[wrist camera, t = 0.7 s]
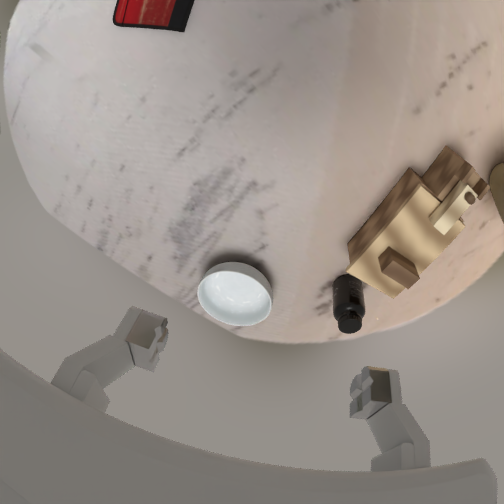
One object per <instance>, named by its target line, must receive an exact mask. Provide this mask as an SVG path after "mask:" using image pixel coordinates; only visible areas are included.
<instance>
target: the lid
mask: <svg viewBox="0 0 504 504" xmlns="http://www.w3.org/2000/svg"><path fill="white" fill-rule="evenodd" d="M440 204H441V202H440V201H439V200H438V199H437V198H435V197H434V196H433V195H432V194H431V193H430V192H429V191H427V190H426V189H425V188H424V187H423V186H421V185H420V184H418V186H417V187H416V188H415V189H414V191H413V192H412V193H411V194H410V196H409V197H408V198H407V199H406V200H405V202H404V203H403V204H402V205H401V206H400V208H399V209H398V210H397V211H396V212H395V214H394V215H393V216H392V217H391V218H390V220H389V221H388V222H387V223H386V224H385V225H384V227H383V228H382V229H381V230H380V231H379V232H378V233H377V235H376V236H375V237H374V238H373V239H372V240H371V241H370V243H369V244H368V245H367V246H366V247H365V248H364V249H363V250H362V251H361V253H360V254H359V255H358V256H357V257H356V258H355V259H354V260H353V261H352V262H351V263H350V265H349V266H348V267H347V268H346V272H347V273H349V274H351V275H353V276H355V277H356V278H358V279H360V280H362V281H363V282H365V283H367V284H369V285H370V286H372V287H374V288H376V289H377V290H379V291H381V292H383V293H384V294H386V295H388V296H390V297H391V298H393V299H394V298H395V297H396V296H397V295H398V294H399V293H400V292H401V291H403V290H404V289H405V288H407V289H409V288H410V287H411V286H412V285H413V284H414V283H416V282H417V281H418V280H419V279H420V277H419V275H420V274H421V273H422V272H423V271H424V270H425V269H426V268H427V267H428V266H429V265H430V264H431V263H432V262H433V261H434V260H435V259H436V258H437V257H438V256H439V255H440V254H441V252H442V251H443V250H444V249H445V248H446V247H447V246H448V245H449V244H450V243H451V242H452V241H453V240H454V239H455V238H456V236H457V235H458V234H459V233H460V232H461V231H462V230H463V229H464V228H465V225H464V224H463V223H462V222H461V221H460V220H459V219H458V220H457V221H456V223H455V224H454V225H453V226H452V227H451V228H450V229H449V230H448V232H447V233H446V234H445V235H443V234H442V233H441V232H440V231H438V230H437V229H436V228H435V227H434V226H433V225H432V223H431V222H430V220H429V217H430V216H431V215H432V214H433V213H434V212H435V210H436V209H437V208H438V207H439V206H440Z"/></svg>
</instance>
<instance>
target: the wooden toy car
mask: <svg viewBox="0 0 504 504" xmlns="http://www.w3.org/2000/svg"><path fill="white" fill-rule="evenodd" d="M477 196H478V195H477V194H476V193H475V192H474V191H473V190H472V189H471V188H470V187H469V185H468V184H467V183H465V184H464V183H463V182H462V181H461V180H460V181H459V182H458V184H457V185H456V186H455V187H454V189H453V190H452V191H451V192H450V194H449V195H448V196H447V197H446V198H445V200H444V201H443V202H442V203H441V204H440V206H439V207H438V208H437V209H436V210H435V212H434V213H433V214H432V215H431V216H430V217H429V220H430V222H431V223H432V225H433V226H434V227H435V228H436V229H437V230H438V231H440V232H441V233H442V234H443V235H445V234H446V233H447V232H448V230H449V229H450V228H451V227H452V226H453V225H454V224H455V223H456V221H457V220H458V219H459V218H460V217H461V216H462V214H463V213H464V212H465V211H466V210H467V208H468V207H469V206H470V205H471V204H473V203H474V202H475V199H476V197H477Z"/></svg>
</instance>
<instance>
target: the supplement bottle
mask: <svg viewBox="0 0 504 504" xmlns="http://www.w3.org/2000/svg"><path fill="white" fill-rule="evenodd" d="M333 315H334V317H335V319H336V320H337V321H338V328H339V330H340V331H341V332H343V333H348V334H349V333H350V334H351V333H355V332H357V331H359V330H360V329H361V327H362V318H363V317H364V315H365V303H364V295H363V287H362V282H361V281H360V279H358V278H356V277H355V276H353V275H344V276H341V277H339V278H338V279H337V280H336V281H335V282H334V284H333Z"/></svg>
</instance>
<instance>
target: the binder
mask: <svg viewBox="0 0 504 504" xmlns="http://www.w3.org/2000/svg"><path fill="white" fill-rule="evenodd" d="M193 3H194V0H117V3H116V7H115V11H114V15H113V23H114V24H115V25H116V26H121V27H136V28H150V29H162V30H172V31H179V32H184V31H185V28H186V25H187V21H188V18H189V15H190V12H191V9H192V6H193Z"/></svg>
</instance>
